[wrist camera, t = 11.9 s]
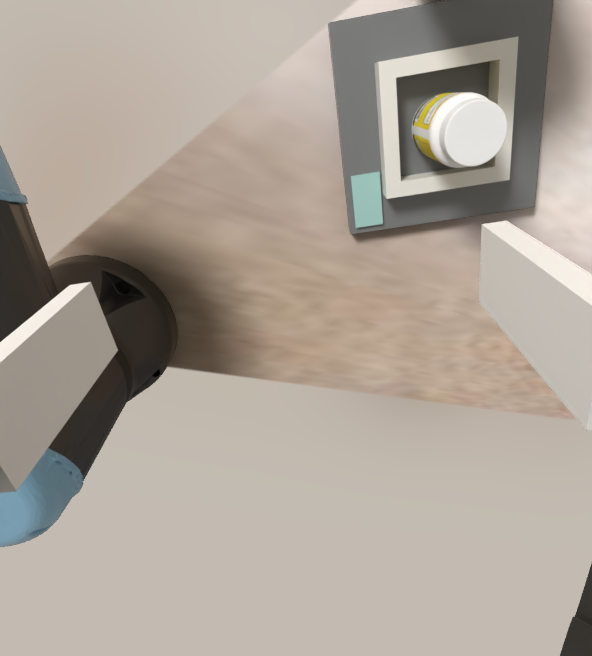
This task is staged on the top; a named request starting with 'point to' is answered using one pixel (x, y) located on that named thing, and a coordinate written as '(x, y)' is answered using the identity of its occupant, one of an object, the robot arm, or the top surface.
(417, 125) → the supplement bottle
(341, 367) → the top surface
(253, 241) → the top surface
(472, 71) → the dock
